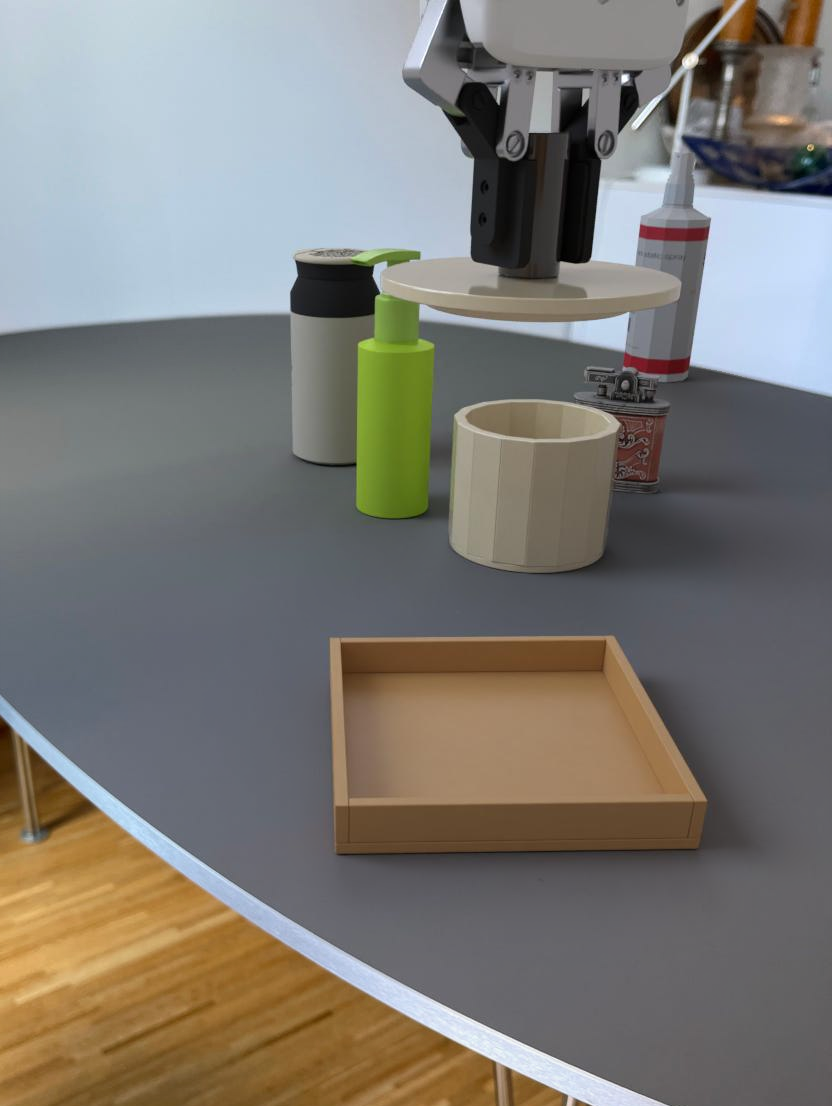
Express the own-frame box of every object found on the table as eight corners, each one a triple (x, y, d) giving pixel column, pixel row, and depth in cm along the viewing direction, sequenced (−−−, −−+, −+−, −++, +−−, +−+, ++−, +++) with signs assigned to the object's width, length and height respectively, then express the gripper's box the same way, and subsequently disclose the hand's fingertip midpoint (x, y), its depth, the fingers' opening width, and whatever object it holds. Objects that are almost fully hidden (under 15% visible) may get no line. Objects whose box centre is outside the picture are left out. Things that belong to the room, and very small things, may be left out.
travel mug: (393, 451, 102) (398, 251, 94) (345, 472, 96) (347, 261, 88) (325, 437, 106) (324, 245, 97) (275, 457, 100) (270, 253, 92)
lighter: (661, 484, 93) (677, 369, 89) (653, 496, 90) (670, 377, 86) (570, 472, 96) (582, 360, 92) (560, 482, 93) (572, 367, 89)
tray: (608, 675, 62) (614, 635, 61) (699, 849, 47) (708, 801, 46) (329, 677, 61) (329, 637, 60) (334, 854, 47) (334, 805, 46)
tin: (584, 516, 86) (597, 399, 82) (621, 572, 76) (639, 441, 71) (441, 516, 86) (446, 399, 81) (458, 573, 75) (466, 442, 71)
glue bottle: (610, 374, 132) (635, 151, 121) (645, 365, 136) (673, 150, 125) (664, 385, 127) (696, 154, 115) (699, 376, 131) (733, 152, 120)
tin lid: (632, 282, 52) (651, 129, 49) (720, 332, 40) (751, 137, 37) (372, 281, 51) (375, 127, 48) (388, 331, 40) (393, 133, 37)
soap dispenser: (331, 507, 87) (331, 248, 78) (394, 490, 91) (401, 242, 82) (379, 526, 83) (384, 256, 74) (442, 508, 87) (455, 249, 78)
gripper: (449, -389, 30) (424, 288, 38) (818, -285, 38) (731, 261, 46) (317, -312, 36) (319, 264, 44) (661, -235, 44) (608, 243, 52)
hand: (530, 258), depth 45 cm, fingers closed on tin lid, 2 cm apart
